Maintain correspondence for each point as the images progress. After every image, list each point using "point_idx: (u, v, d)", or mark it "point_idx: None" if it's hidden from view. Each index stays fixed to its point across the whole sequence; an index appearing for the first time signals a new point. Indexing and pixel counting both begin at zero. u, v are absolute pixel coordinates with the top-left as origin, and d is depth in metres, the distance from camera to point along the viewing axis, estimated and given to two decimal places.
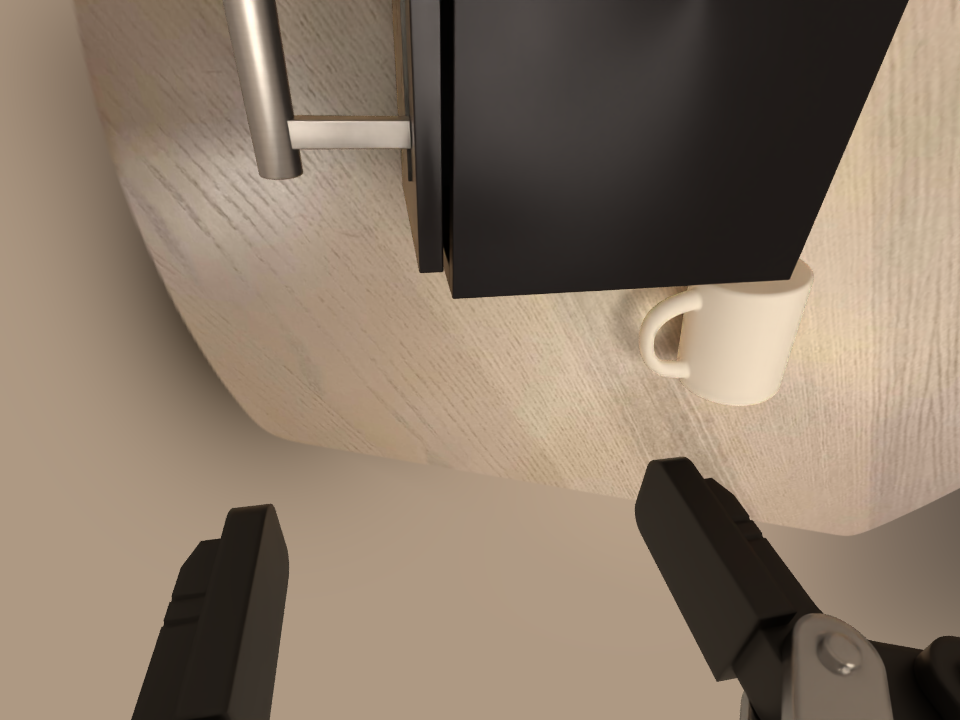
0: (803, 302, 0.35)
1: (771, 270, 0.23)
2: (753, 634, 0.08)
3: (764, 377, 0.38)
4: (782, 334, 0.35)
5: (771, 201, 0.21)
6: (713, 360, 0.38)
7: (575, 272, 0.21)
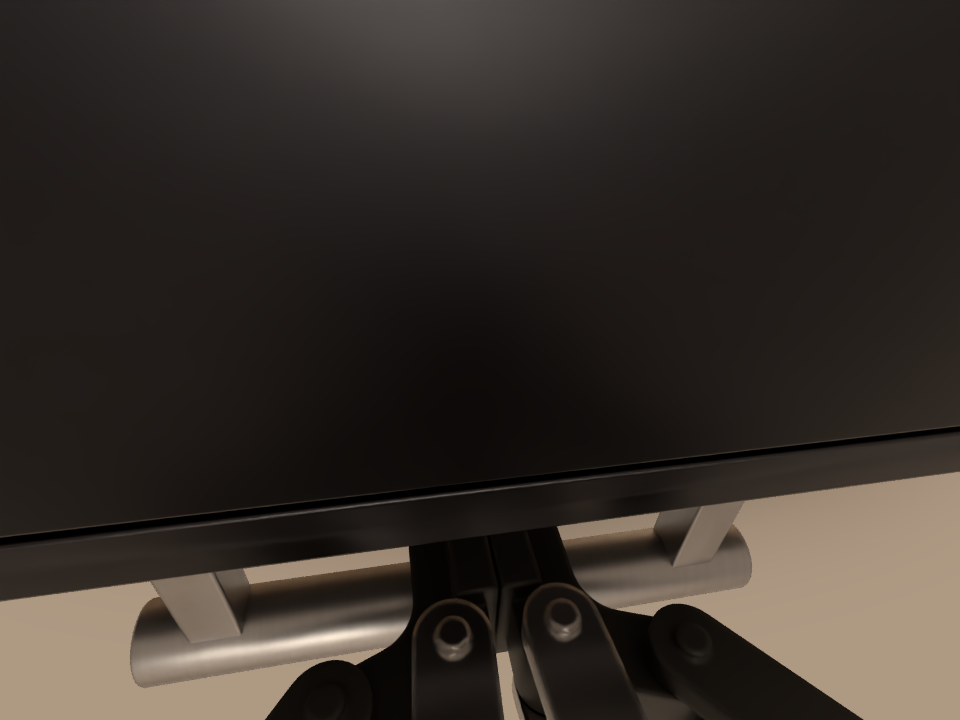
0: None
1: None
2: (506, 604, 0.09)
3: None
4: None
5: None
6: None
7: None
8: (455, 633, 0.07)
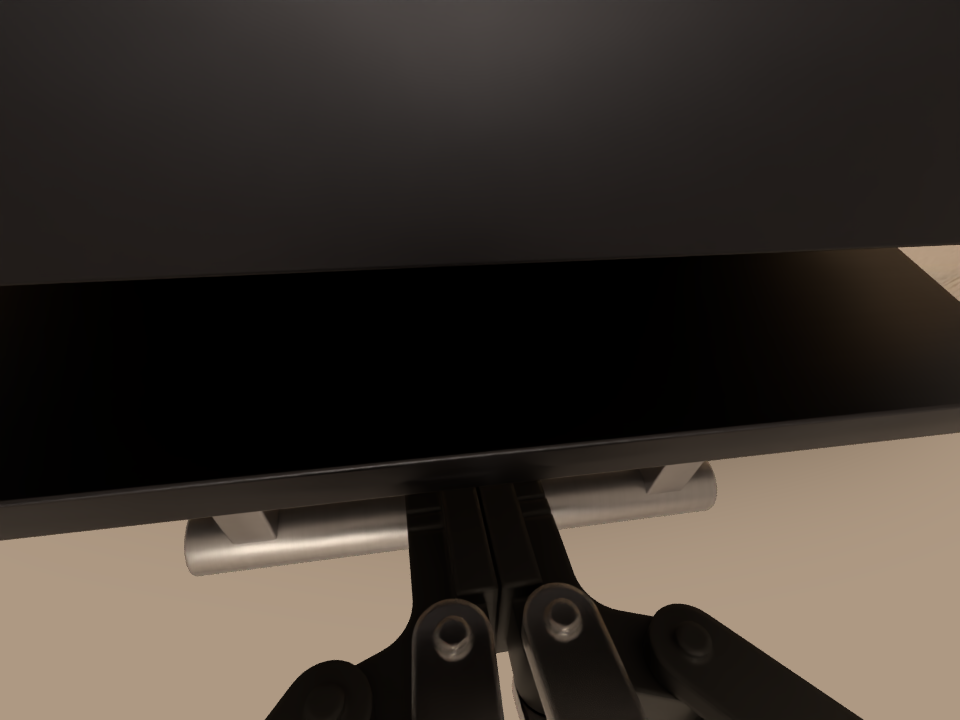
0: None
1: None
2: (506, 604, 0.09)
3: None
4: None
5: None
6: None
7: None
8: (455, 633, 0.07)
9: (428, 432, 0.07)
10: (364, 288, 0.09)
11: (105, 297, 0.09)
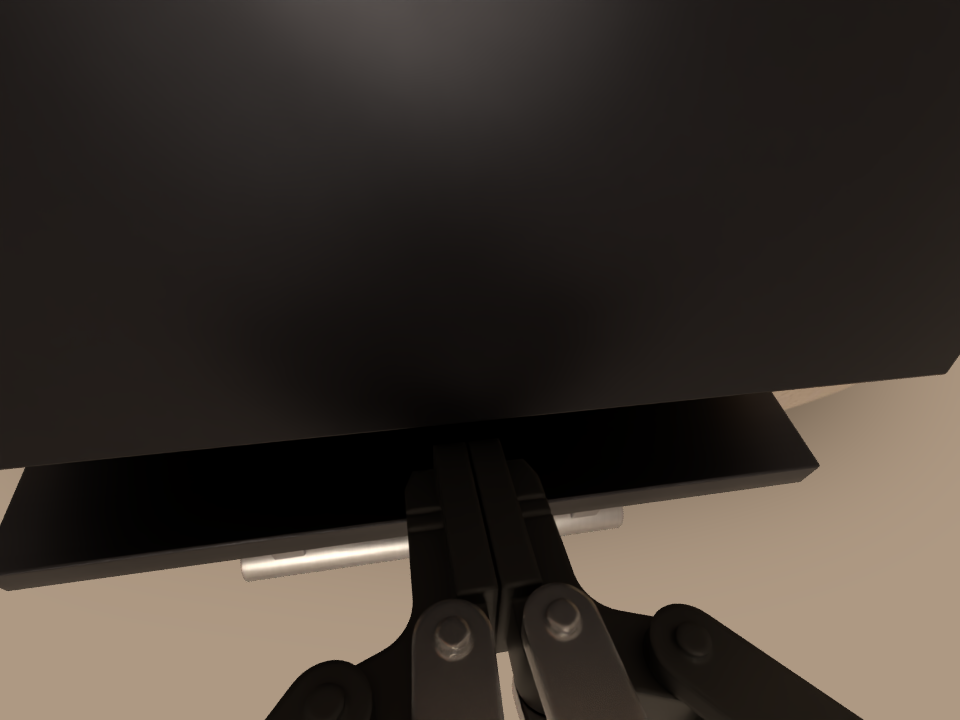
0: None
1: None
2: (505, 604, 0.09)
3: None
4: None
5: None
6: None
7: None
8: (455, 633, 0.07)
9: None
10: None
11: None
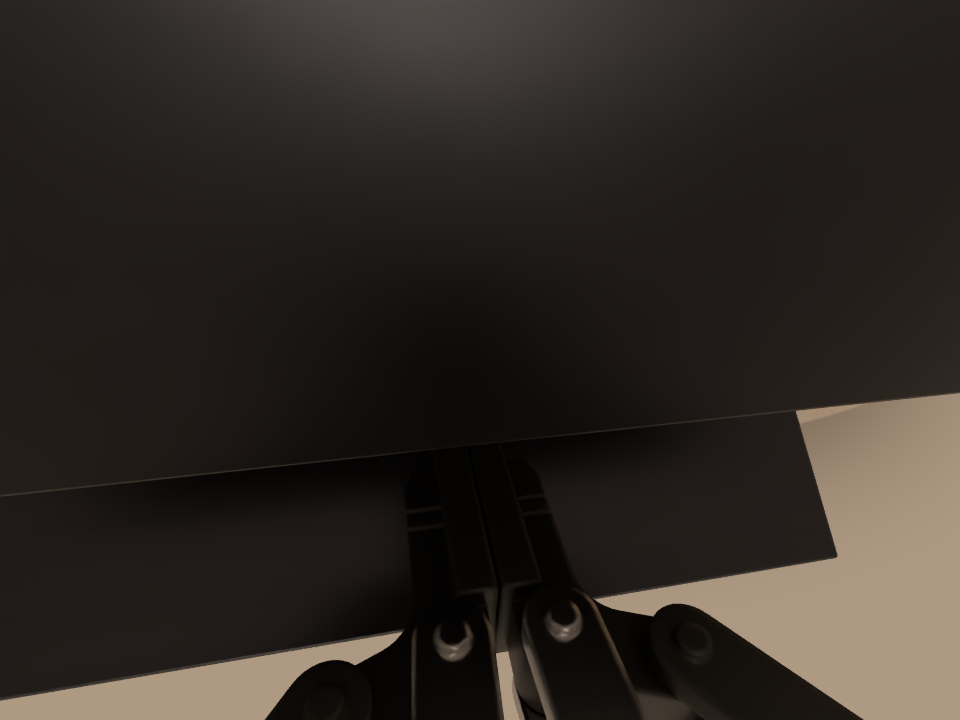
0: None
1: None
2: (505, 604, 0.09)
3: None
4: None
5: None
6: None
7: None
8: (455, 633, 0.07)
9: (411, 607, 0.11)
10: (362, 465, 0.12)
11: (162, 483, 0.11)
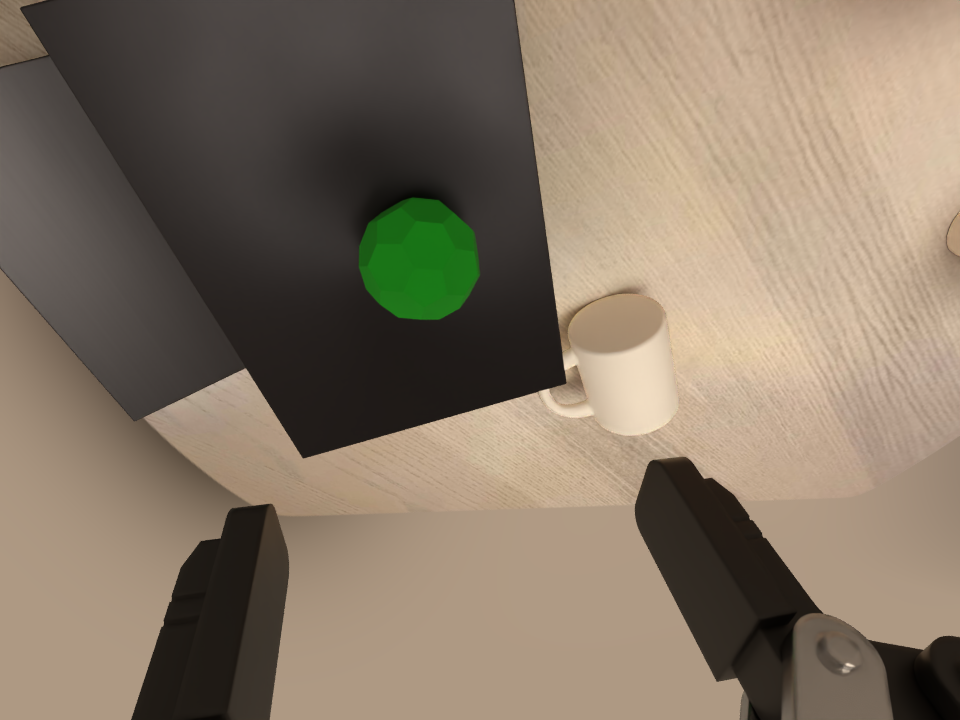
0: (658, 348, 0.39)
1: (545, 382, 0.29)
2: (753, 634, 0.08)
3: (650, 411, 0.43)
4: (649, 377, 0.40)
5: (514, 344, 0.27)
6: (603, 403, 0.43)
7: (384, 422, 0.29)
8: None
9: (18, 275, 0.28)
10: (72, 237, 0.28)
11: (14, 156, 0.26)
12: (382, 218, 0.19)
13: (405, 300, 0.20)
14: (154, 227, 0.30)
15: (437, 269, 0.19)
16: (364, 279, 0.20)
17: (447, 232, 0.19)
